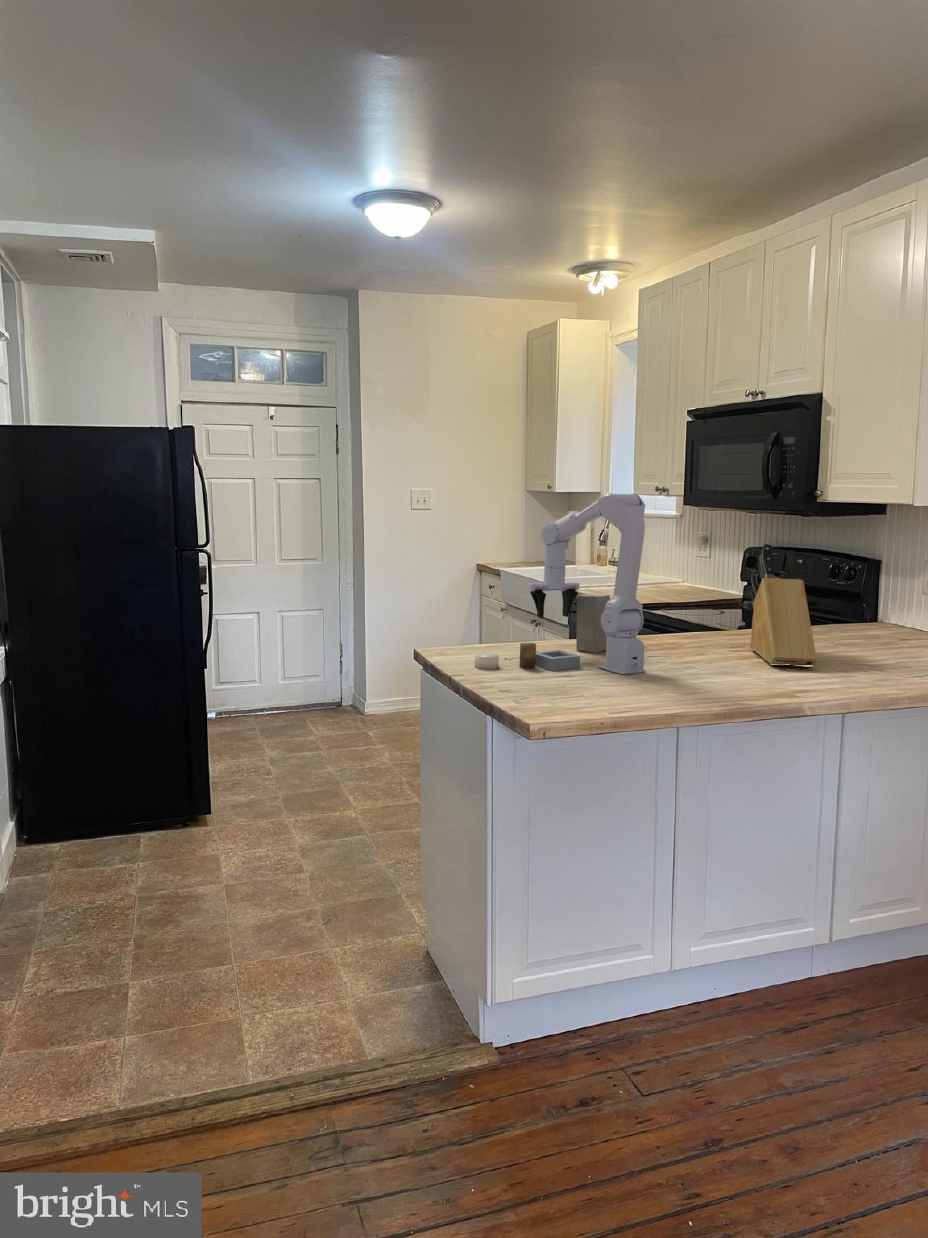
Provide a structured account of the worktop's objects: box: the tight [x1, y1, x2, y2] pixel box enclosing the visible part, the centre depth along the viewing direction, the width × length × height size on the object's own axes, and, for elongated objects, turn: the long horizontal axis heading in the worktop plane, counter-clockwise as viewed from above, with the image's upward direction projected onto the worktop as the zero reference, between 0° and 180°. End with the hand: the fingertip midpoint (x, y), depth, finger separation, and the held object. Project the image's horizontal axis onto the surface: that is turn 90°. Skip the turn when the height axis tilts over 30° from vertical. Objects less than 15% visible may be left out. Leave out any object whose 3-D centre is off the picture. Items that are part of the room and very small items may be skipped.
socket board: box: [535, 649, 581, 671], centre depth 228 cm, size 9×9×3 cm
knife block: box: [749, 542, 818, 666], centre depth 245 cm, size 11×35×31 cm, turn 175°
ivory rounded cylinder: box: [474, 652, 500, 670], centre depth 226 cm, size 6×6×3 cm
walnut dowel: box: [519, 642, 537, 670], centre depth 226 cm, size 4×4×6 cm
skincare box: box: [575, 593, 611, 654], centre depth 250 cm, size 8×7×16 cm
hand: (553, 616), depth 245 cm, fingers open, 7 cm apart
